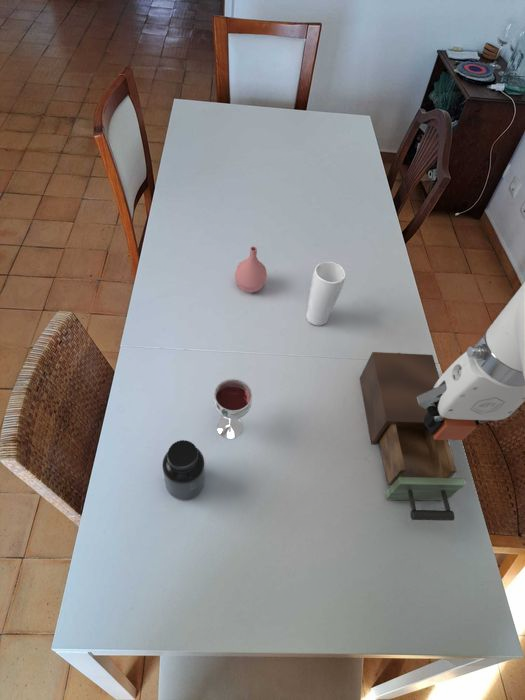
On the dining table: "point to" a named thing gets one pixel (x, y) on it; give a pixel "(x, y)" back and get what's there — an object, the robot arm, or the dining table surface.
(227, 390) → the wineglass
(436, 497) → the drawer
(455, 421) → the block
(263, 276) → the pink bulb vase
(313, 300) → the drinking glass
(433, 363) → the cabinet
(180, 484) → the supplement bottle
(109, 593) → the dining table surface
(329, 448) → the dining table surface
